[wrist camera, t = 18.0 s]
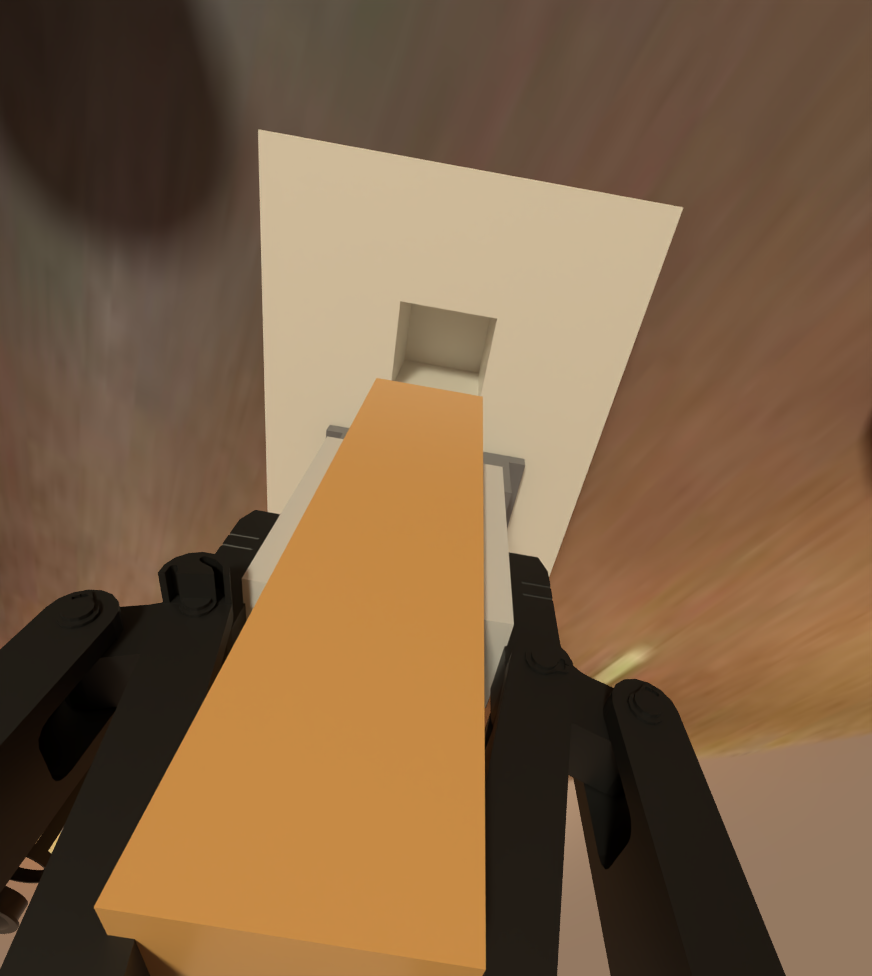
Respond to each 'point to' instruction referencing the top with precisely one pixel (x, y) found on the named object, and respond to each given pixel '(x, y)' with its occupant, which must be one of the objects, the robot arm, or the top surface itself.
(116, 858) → the robot arm
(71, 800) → the french press
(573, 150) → the top surface
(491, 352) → the socket block
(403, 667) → the plug peg
